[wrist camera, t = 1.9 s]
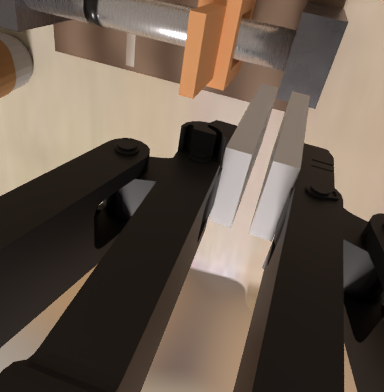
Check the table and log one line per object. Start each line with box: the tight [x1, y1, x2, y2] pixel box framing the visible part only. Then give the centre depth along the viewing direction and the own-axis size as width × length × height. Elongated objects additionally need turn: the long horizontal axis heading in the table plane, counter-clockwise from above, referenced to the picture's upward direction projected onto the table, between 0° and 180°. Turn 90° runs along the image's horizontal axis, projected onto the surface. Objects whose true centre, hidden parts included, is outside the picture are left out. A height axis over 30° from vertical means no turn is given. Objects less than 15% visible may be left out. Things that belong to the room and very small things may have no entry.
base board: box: [53, 0, 346, 111], centre depth 34 cm, size 29×14×2 cm, turn 82°
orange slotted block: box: [179, 0, 256, 99], centre depth 26 cm, size 3×6×11 cm, turn 172°
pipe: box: [0, 0, 348, 109], centre depth 30 cm, size 29×6×9 cm, turn 82°
